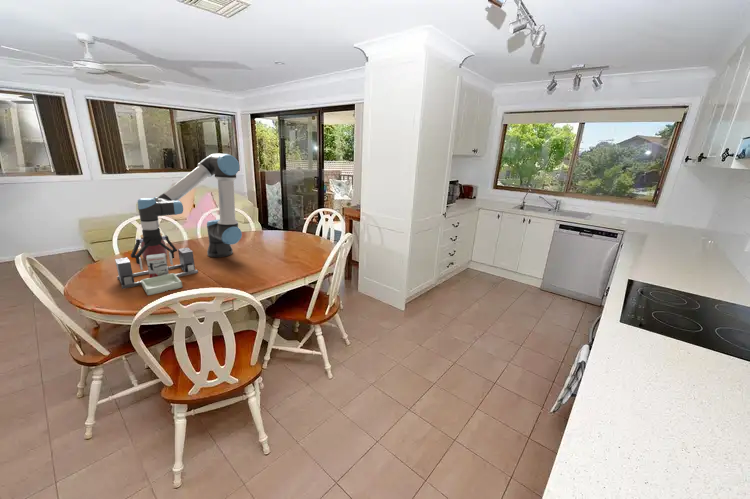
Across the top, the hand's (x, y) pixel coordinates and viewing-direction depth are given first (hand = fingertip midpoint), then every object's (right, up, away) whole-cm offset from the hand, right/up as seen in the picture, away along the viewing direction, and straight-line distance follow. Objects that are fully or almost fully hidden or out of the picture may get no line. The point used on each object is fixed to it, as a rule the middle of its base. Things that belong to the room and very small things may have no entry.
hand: (157, 266), depth 166 cm
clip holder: (0, -5, +2) cm, 5 cm away
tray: (+10, -9, -10) cm, 17 cm away
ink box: (0, -5, +2) cm, 6 cm away
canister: (-22, +5, +29) cm, 37 cm away
